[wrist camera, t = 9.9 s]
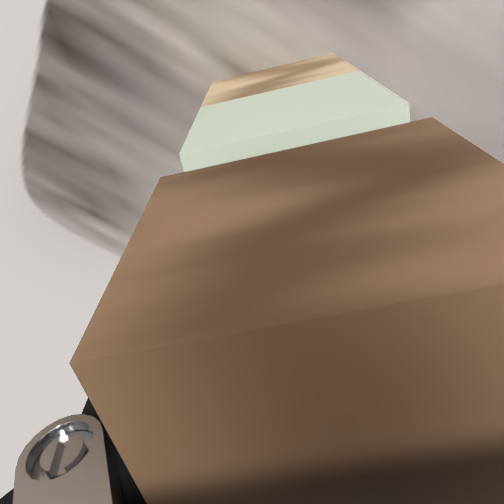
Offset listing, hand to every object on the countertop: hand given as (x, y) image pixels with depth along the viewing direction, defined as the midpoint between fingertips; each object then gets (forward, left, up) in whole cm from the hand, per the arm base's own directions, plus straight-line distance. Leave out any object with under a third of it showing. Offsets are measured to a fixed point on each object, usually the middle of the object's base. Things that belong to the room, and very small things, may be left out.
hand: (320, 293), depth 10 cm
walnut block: (0, 0, -1) cm, 1 cm away
